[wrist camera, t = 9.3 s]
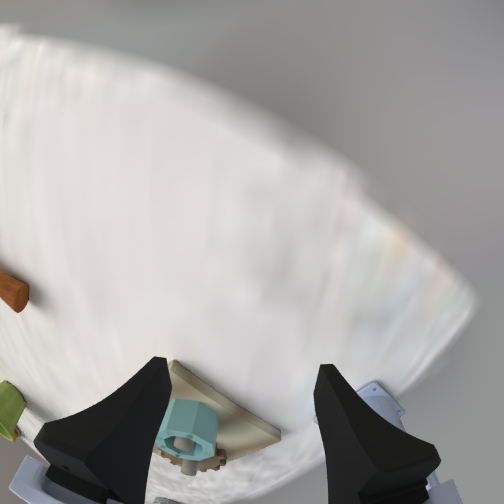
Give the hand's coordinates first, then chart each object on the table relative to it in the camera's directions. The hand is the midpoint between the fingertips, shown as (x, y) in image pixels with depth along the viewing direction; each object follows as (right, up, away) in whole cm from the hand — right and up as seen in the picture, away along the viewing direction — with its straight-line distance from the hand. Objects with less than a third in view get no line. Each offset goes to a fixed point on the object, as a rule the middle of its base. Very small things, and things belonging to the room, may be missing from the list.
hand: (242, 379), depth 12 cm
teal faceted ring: (-6, -11, +12) cm, 17 cm away
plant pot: (-42, -19, +17) cm, 49 cm away
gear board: (-7, -14, +15) cm, 22 cm away
